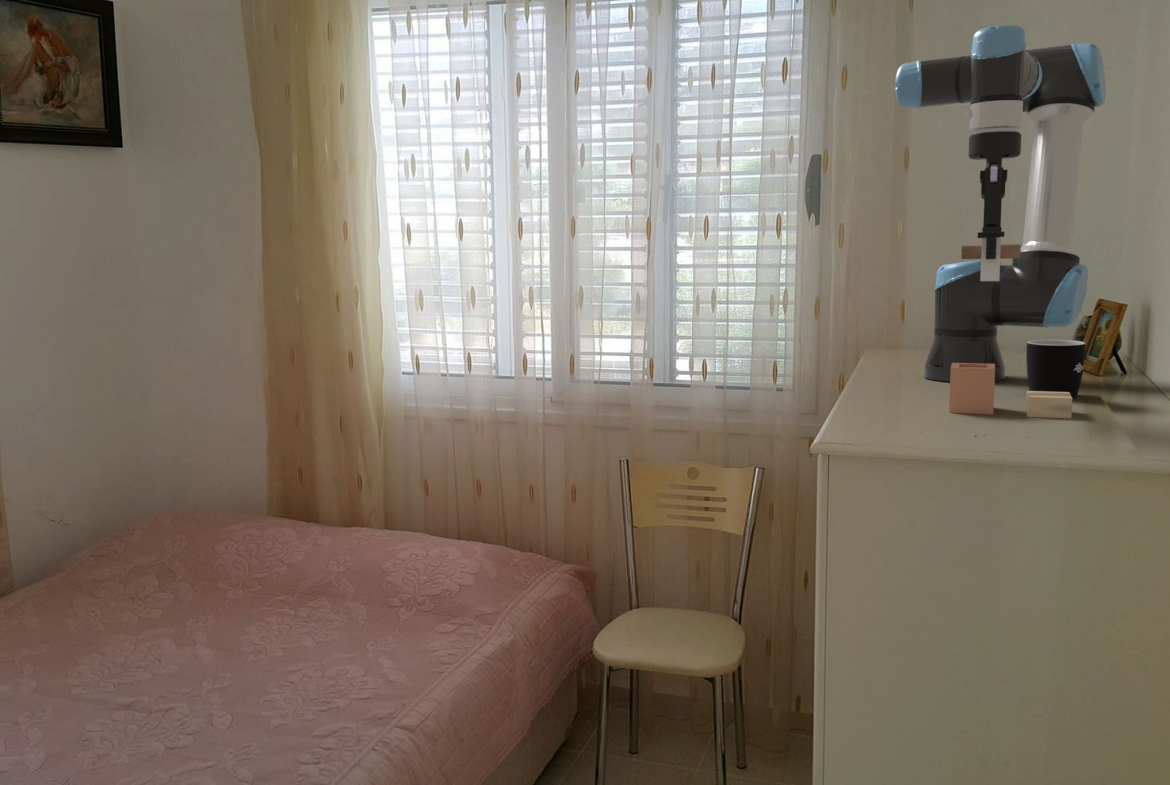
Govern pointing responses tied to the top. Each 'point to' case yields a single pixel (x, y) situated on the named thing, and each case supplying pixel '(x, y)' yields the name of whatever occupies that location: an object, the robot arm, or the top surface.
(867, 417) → the top surface
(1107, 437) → the top surface
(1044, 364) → the mug
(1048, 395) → the block
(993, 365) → the tan hollow square block
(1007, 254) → the lid
